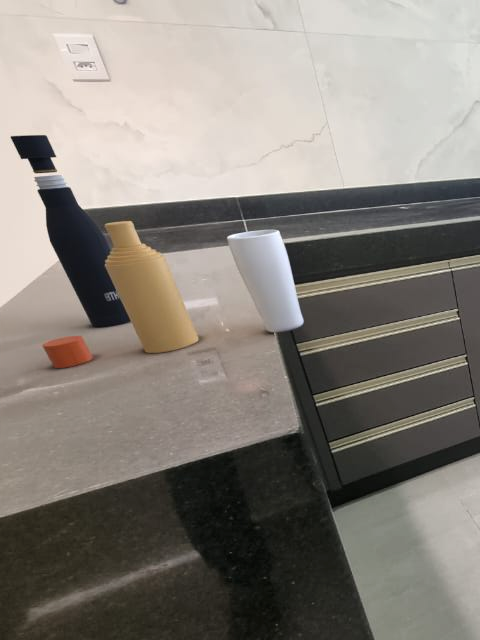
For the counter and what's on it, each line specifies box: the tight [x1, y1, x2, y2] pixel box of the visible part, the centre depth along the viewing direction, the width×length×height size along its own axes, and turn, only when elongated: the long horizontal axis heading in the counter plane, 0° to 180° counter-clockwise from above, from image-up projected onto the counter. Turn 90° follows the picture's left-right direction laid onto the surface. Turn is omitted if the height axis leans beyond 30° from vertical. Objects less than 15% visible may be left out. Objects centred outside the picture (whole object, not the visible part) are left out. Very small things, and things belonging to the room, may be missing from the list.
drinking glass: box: [226, 229, 305, 334], centre depth 81 cm, size 7×7×15 cm
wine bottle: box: [10, 134, 131, 328], centre depth 86 cm, size 6×6×30 cm
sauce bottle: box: [104, 220, 199, 354], centre depth 76 cm, size 6×6×18 cm
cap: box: [41, 335, 94, 369], centre depth 74 cm, size 4×4×3 cm
